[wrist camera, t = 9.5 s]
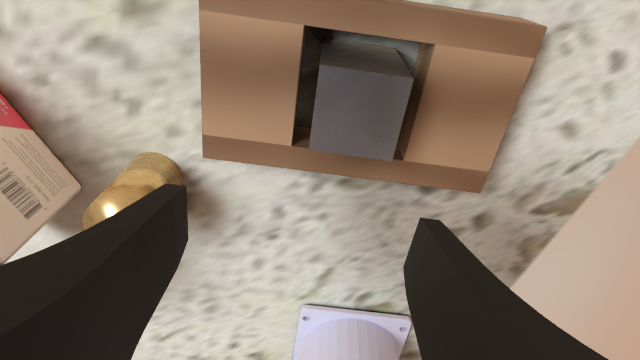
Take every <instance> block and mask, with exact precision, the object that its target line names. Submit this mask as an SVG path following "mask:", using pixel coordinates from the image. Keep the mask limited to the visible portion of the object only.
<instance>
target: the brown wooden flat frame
mask: <svg viewBox="0 0 640 360" xmlns="http://www.w3.org/2000/svg"><path fill="white" fill-rule="evenodd" d="M199 22H200V63H201V103H202V143H203V158H209V159H217V160H225V161H233V162H241V163H248V164H256V165H264V166H272V167H280V168H288V169H295V170H303V171H311V172H319V173H327V174H334V175H342V176H350V177H358V178H366V179H374V180H381V181H389V182H397V183H405V184H413V185H420V186H428V187H436V188H444V189H452V190H460V191H467V192H475V193H480V192H481V190H482V187H483V185H484V182H485V180H486V177H487V175H488V172H489V170H490V167H491V165H492V163H493V160H494V158H495V155H496V153H497V150H498V148H499V145H500V143H501V140H502V138H503V135H504V133H505V131H506V128H507V126H508V123H509V121H510V118H511V116H512V113H513V111H514V108H515V106H516V103H517V101H518V99H519V96H520V94H521V91H522V89H523V86H524V84H525V81H526V79H527V76H528V74H529V71H530V69H531V66H532V64H533V62H534V59H535V57H536V54H537V52H538V49H539V47H540V44H541V42H542V39H543V37H544V34H545V32H546V30H547V27H546V26H543V25H540V24H537V23H534V22H531V21H528V20H525V19H523V18H517V17H511V16H504V15H497V14H491V13H484V12H477V11H470V10H464V9H457V8H450V7H444V6H437V5H430V4H423V3H417V2H410V1H403V0H199ZM306 26H313V27H320V28H327V29H334V30H341V31H348V32H355V33H362V34H369V35H376V36H383V37H389V38H396V39H403V40H410V41H417V42H421V44H420V48H419V52H418V56H417V60H416V64H415V68H414V72H413V78H414V80H413V84H412V88H411V92H410V95H409V99H408V103H407V107H406V111H405V114H404V118H403V122H402V126H401V130H400V133H399V137H398V141H397V145H396V149H395V152H394V156H393V160H392V161H385V160H378V159H370V158H363V157H356V156H348V155H341V154H333V153H326V152H319V151H311V150H309V142H310V134H311V128H307V127H299V126H296V116H297V107H298V98H299V88H300V79H301V69H302V60H303V51H304V41H305V32H306Z"/></svg>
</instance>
